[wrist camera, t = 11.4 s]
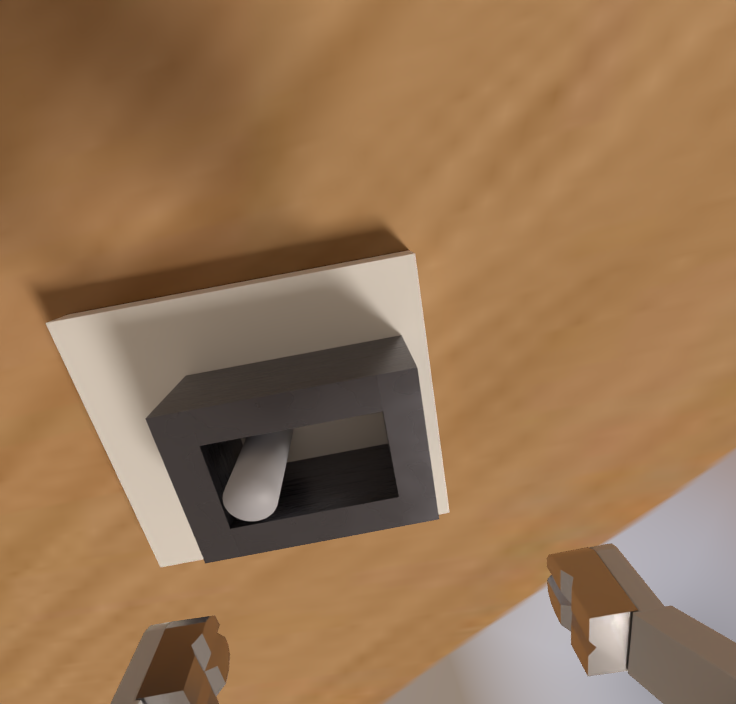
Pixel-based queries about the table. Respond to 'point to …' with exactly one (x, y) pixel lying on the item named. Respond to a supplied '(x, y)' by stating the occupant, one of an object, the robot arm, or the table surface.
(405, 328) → the keeper plate
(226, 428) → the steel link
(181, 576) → the table surface
